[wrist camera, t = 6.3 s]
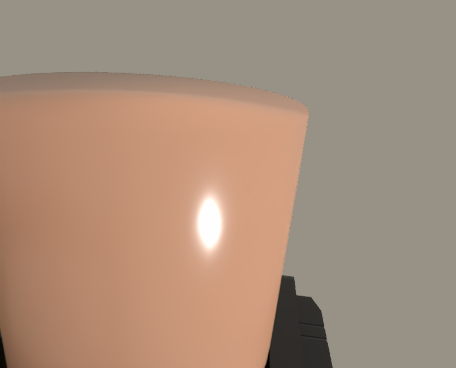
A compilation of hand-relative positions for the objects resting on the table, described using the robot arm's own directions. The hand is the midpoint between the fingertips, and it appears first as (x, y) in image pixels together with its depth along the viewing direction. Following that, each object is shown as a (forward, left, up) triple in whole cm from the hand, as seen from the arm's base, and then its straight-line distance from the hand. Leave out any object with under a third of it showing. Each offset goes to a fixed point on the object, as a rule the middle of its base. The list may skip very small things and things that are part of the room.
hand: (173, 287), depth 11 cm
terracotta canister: (0, -3, -8) cm, 8 cm away
